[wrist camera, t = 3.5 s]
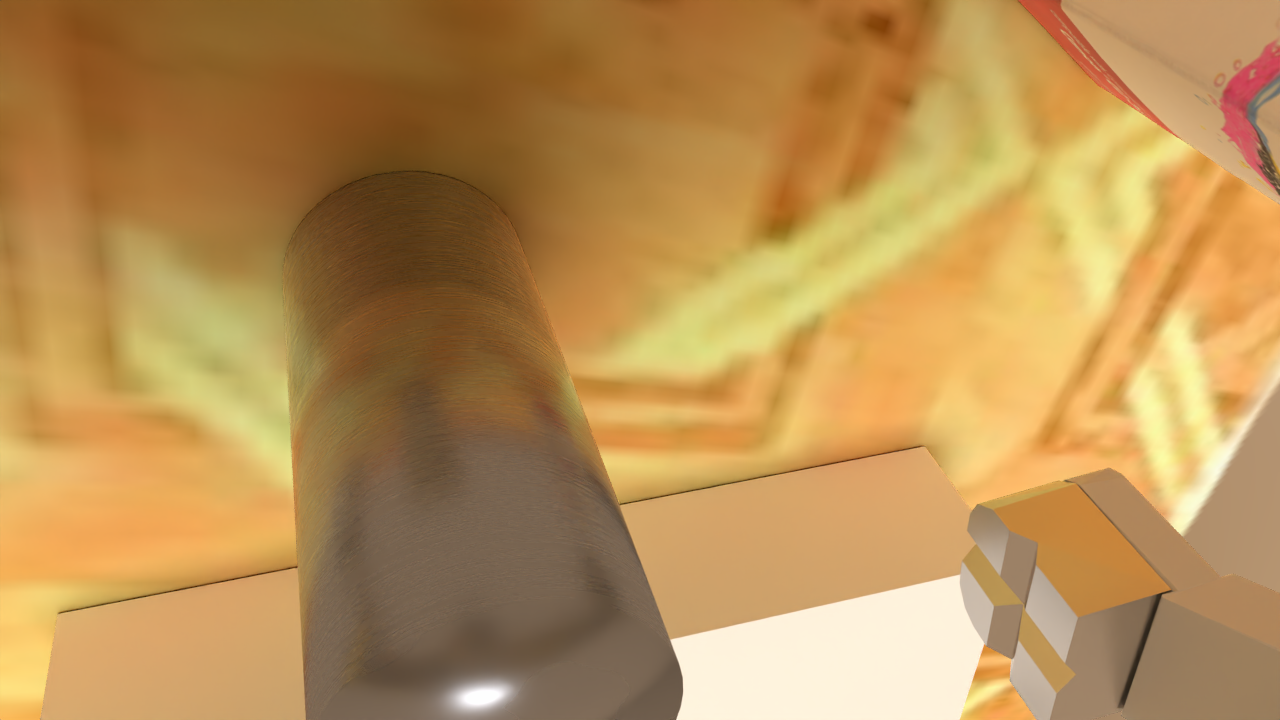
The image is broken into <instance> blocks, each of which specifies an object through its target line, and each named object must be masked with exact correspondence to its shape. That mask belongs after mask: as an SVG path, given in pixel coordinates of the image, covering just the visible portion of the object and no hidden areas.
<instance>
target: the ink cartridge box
mask: <svg viewBox="0 0 1280 720" xmlns="http://www.w3.org/2000/svg"><path fill="white" fill-rule="evenodd" d="M1018 1H1019V2H1020V3H1021V4H1022V5H1023V6H1024V7H1025V8H1026V9H1027V10H1028V11H1029V12H1030V13H1031V14H1032V15H1033V16H1034V17H1035V19H1036V20H1037V21H1038V22H1039V23H1040V24H1041V25H1042V26H1043V27H1044V28H1045V29H1046V30H1047V31H1048V32H1049V33H1050V35H1051V36H1052V37H1053V38H1054V39H1055V40H1056V41H1057V42H1058V43H1059V44H1060V45H1061V46H1062V47H1063V49H1064V50H1065V51H1066V52H1067V53H1068V54H1069V55H1070V56H1071V57H1072V58H1073V59H1074V60H1075V61H1076V62H1077V64H1078V65H1079V66H1080V67H1081V68H1082V69H1083V70H1084V71H1085V72H1086V73H1087V75H1088V76H1089V77H1090V78H1091V79H1092V80H1093V81H1094V82H1095V83H1096V84H1097V85H1098V86H1100V87H1102V88H1103V89H1105V90H1107V91H1108V92H1110V93H1112V94H1113V95H1115V96H1116V97H1118V98H1119V99H1120V100H1122V101H1123V102H1125V103H1126V104H1128V105H1129V106H1131V107H1132V108H1134V109H1136V110H1137V111H1139V112H1140V113H1142V114H1143V115H1145V116H1146V117H1148V118H1149V119H1151V120H1152V121H1154V122H1155V123H1157V124H1158V125H1160V126H1161V127H1162V128H1164V129H1165V130H1167V131H1169V132H1170V133H1172V134H1173V135H1175V136H1176V137H1178V138H1180V139H1181V140H1183V141H1184V142H1186V143H1187V144H1189V145H1190V146H1192V147H1193V148H1195V149H1196V150H1198V151H1199V152H1201V153H1202V154H1204V155H1205V156H1207V157H1208V158H1209V159H1211V160H1212V161H1214V162H1215V163H1217V164H1218V165H1219V166H1221V167H1222V168H1224V169H1225V170H1227V171H1228V172H1230V173H1231V174H1233V175H1235V176H1236V177H1238V178H1240V179H1241V180H1243V181H1245V182H1246V183H1248V184H1249V185H1251V186H1252V187H1254V188H1255V189H1257V190H1258V191H1260V192H1261V193H1263V194H1264V195H1266V196H1268V197H1269V198H1271V199H1272V200H1274V201H1275V202H1277V203H1278V204H1280V0H1018Z"/></svg>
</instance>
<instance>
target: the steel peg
mask: <svg viewBox="0 0 1280 720" xmlns="http://www.w3.org/2000/svg"><path fill="white" fill-rule="evenodd" d="M283 298H284V317H285V336H286V355H287V374H288V393H289V411H290V430H291V449H292V468H293V487H294V506H295V525H296V544H297V563H298V582H299V600H300V619H301V638H302V657H303V676H304V695H305V714H306V720H676V719H677V716H678V713H679V710H680V708H681V703H682V697H683V676H682V673H681V669H680V665H679V662H678V659H677V657H676V654H675V651H674V649H673V646H672V643H671V641H670V638H669V636H668V633H667V630H666V628H665V625H664V622H663V620H662V617H661V614H660V612H659V609H658V606H657V604H656V601H655V598H654V596H653V593H652V590H651V588H650V585H649V583H648V580H647V577H646V575H645V572H644V569H643V567H642V564H641V561H640V559H639V556H638V553H637V551H636V548H635V545H634V543H633V540H632V538H631V535H630V532H629V530H628V527H627V524H626V522H625V519H624V516H623V514H622V511H621V508H620V506H619V503H618V500H617V498H616V495H615V492H614V490H613V487H612V485H611V482H610V479H609V477H608V474H607V471H606V469H605V466H604V463H603V461H602V458H601V455H600V453H599V450H598V447H597V445H596V442H595V439H594V437H593V434H592V432H591V429H590V426H589V424H588V421H587V418H586V416H585V413H584V410H583V408H582V405H581V402H580V400H579V397H578V394H577V392H576V389H575V386H574V384H573V381H572V379H571V376H570V373H569V371H568V368H567V365H566V363H565V360H564V357H563V355H562V352H561V349H560V347H559V344H558V341H557V339H556V336H555V333H554V331H553V328H552V326H551V323H550V320H549V318H548V315H547V312H546V310H545V307H544V304H543V302H542V299H541V296H540V294H539V291H538V288H537V286H536V283H535V280H534V278H533V275H532V273H531V270H530V267H529V265H528V262H527V259H526V257H525V254H524V251H523V249H522V246H521V243H520V241H519V238H518V236H517V234H516V231H515V229H514V227H513V225H512V224H511V222H510V221H509V219H508V218H507V216H506V215H505V213H504V212H503V211H502V210H501V209H500V208H499V207H498V206H497V204H496V203H495V202H493V201H492V200H491V199H490V198H488V197H487V196H486V195H485V194H483V193H482V192H480V191H479V190H477V189H475V188H474V187H472V186H470V185H468V184H466V183H464V182H461V181H459V180H457V179H454V178H450V177H447V176H444V175H440V174H434V173H429V172H418V171H400V172H389V173H384V174H378V175H374V176H370V177H367V178H364V179H360V180H358V181H355V182H353V183H351V184H349V185H346V186H344V187H342V188H341V189H339V190H337V191H336V192H334V193H332V194H330V195H329V196H328V197H326V198H325V199H324V200H323V201H321V202H320V203H319V204H317V205H316V206H315V207H314V208H313V210H312V211H311V212H310V213H309V214H308V215H307V216H306V217H305V218H304V220H303V221H302V222H301V224H300V225H299V226H298V228H297V229H296V231H295V233H294V235H293V237H292V239H291V241H290V243H289V246H288V249H287V252H286V255H285V260H284V265H283Z"/></svg>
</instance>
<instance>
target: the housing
mask: <svg viewBox="0 0 1280 720" xmlns="http://www.w3.org/2000/svg"><path fill="white" fill-rule="evenodd" d="M619 506H620V508H621V511H622V514H623V516H624V519H625V522H626V524H627V527H628V530H629V532H630V535H631V538H632V540H633V543H634V545H635V548H636V551H637V553H638V556H639V559H640V561H641V564H642V567H643V569H644V572H645V575H646V577H647V580H648V583H649V585H650V588H651V590H652V593H653V596H654V598H655V601H656V604H657V606H658V609H659V612H660V614H661V617H662V620H663V622H664V625H665V628H666V630H667V633H668V636H669V638H670V641H671V643H672V646H673V649H674V651H675V654H676V657H677V659H678V662H679V665H680V669H681V673H682V676H683V697H682V703H681V708H680V710H679V713H678V716H677V719H676V720H960V717H961V714H962V711H963V707H964V704H965V701H966V698H967V695H968V692H969V689H970V686H971V683H972V680H973V677H974V673H975V670H976V667H977V664H978V661H979V658H980V655H981V652H982V649H983V646H984V642H983V640H982V639H981V637H980V636H979V634H978V633H977V631H976V630H975V628H974V627H973V624H972V622H971V620H970V618H969V616H968V613H967V611H966V609H965V606H964V602H963V597H962V592H961V588H960V583H959V582H960V573H961V565H962V560H963V559H964V557H965V556H966V555H967V554H968V553H969V551H970V550H971V549H972V548H973V547H974V545H975V544H976V543H975V541H974V540H973V538H972V537H971V536H970V534H969V533H968V531H967V528H968V522H969V517H970V513H971V512H972V510H971V509H970V508H969V506H968V505H967V503H966V502H965V501H964V499H963V498H962V497H961V495H960V494H959V492H958V491H957V490H956V488H955V487H954V486H953V484H952V483H951V481H950V480H949V479H948V477H947V476H946V474H945V473H944V472H943V470H942V469H941V468H940V466H939V465H938V463H937V462H936V461H935V459H934V458H933V457H932V455H931V454H930V452H929V451H928V450H927V448H926V447H925V446H924V447H919V448H913V449H908V450H903V451H898V452H893V453H888V454H882V455H877V456H872V457H867V458H862V459H857V460H851V461H846V462H841V463H836V464H831V465H826V466H820V467H815V468H810V469H805V470H800V471H795V472H789V473H784V474H779V475H774V476H769V477H764V478H758V479H753V480H748V481H743V482H738V483H732V484H727V485H722V486H717V487H712V488H707V489H701V490H696V491H691V492H686V493H681V494H676V495H670V496H665V497H660V498H655V499H650V500H645V501H639V502H634V503H629V504H624V505H619ZM40 720H306V714H305V695H304V676H303V657H302V638H301V619H300V600H299V582H298V568H293V569H288V570H283V571H277V572H272V573H267V574H262V575H257V576H252V577H246V578H241V579H236V580H231V581H226V582H221V583H215V584H210V585H205V586H200V587H195V588H190V589H184V590H179V591H174V592H169V593H164V594H159V595H153V596H148V597H143V598H138V599H133V600H128V601H122V602H117V603H112V604H107V605H102V606H97V607H91V608H86V609H81V610H76V611H71V612H65V613H60V614H58V615H57V621H56V627H55V633H54V639H53V645H52V651H51V657H50V663H49V669H48V675H47V681H46V688H45V694H44V700H43V706H42V712H41V718H40Z"/></svg>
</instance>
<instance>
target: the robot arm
mask: <svg viewBox="0 0 1280 720" xmlns="http://www.w3.org/2000/svg"><path fill="white" fill-rule="evenodd" d="M967 531H968V533H969V534H970V536H971V537H972V538H973V540H974V541H975V543H976V544H975V545H974V547H973V548H972V549H971V550H970V551H969V553H968V554H967V555H966V556H965V557H964V559H963V560H962V565H961V573H960V582H959V583H960V588H961V592H962V597H963V602H964V606H965V609H966V611H967V613H968V616H969V618H970V620H971V622H972V624H973V627H974V628H975V630H976V631H977V633H978V634H979V636H980V637H981V639H982V640H983V642H984V643H985V645H986V646H987V647H989V648H991V649H993V650H995V651H997V652H999V653H1001V654H1003V655H1005V656H1006V657H1008V658H1010V659H1011V671H1010V682H1011V683H1012V685H1013V686H1014V688H1015V689H1016V690H1017V692H1018V693H1019V695H1020V696H1021V698H1022V699H1023V701H1024V702H1025V703H1026V705H1027V706H1028V708H1029V709H1030V711H1031V712H1032V714H1033V715H1034V717H1035V718H1036V719H1037V720H1094V719H1097V718H1100V717H1103V716H1107V715H1110V714H1114V713H1118V712H1121V711H1122V714H1121V716H1122V717H1123V718H1125V719H1127V720H1280V593H1278V592H1276V591H1274V590H1271V589H1269V588H1267V587H1264V586H1262V585H1259V584H1257V583H1255V582H1252V581H1250V580H1248V579H1245V578H1243V577H1241V576H1238V575H1236V574H1230V575H1227V576H1222V577H1220V575H1219V574H1218V573H1217V572H1216V571H1215V570H1214V569H1213V568H1212V567H1211V566H1210V565H1209V564H1208V563H1207V562H1206V561H1205V560H1204V559H1203V558H1202V557H1201V556H1200V555H1199V554H1198V553H1197V552H1196V551H1195V550H1194V548H1193V547H1192V546H1191V545H1189V543H1188V542H1187V541H1186V540H1185V539H1184V538H1183V537H1182V536H1181V535H1180V534H1179V533H1178V532H1177V531H1176V530H1175V529H1174V528H1173V527H1172V526H1171V525H1170V523H1169V522H1168V521H1167V520H1166V519H1165V518H1164V517H1163V516H1162V515H1161V514H1160V513H1159V512H1158V511H1157V510H1156V509H1155V508H1154V507H1153V506H1152V505H1151V504H1150V503H1149V502H1148V501H1147V500H1146V499H1145V498H1144V496H1143V495H1142V494H1141V493H1140V492H1139V491H1138V490H1137V489H1136V488H1135V487H1134V486H1133V485H1132V484H1131V483H1130V482H1129V481H1128V480H1127V479H1126V478H1125V477H1124V476H1123V475H1122V474H1121V473H1119V472H1117V471H1115V470H1113V469H1111V468H1107V469H1103V470H1099V471H1095V472H1092V473H1088V474H1085V475H1081V476H1077V477H1074V478H1070V479H1067V480H1064V481H1055V482H1052V483H1049V484H1045V485H1042V486H1038V487H1035V488H1031V489H1028V490H1025V491H1021V492H1018V493H1014V494H1011V495H1007V496H1004V497H1001V498H997V499H994V500H990V501H987V502H983V503H980V504H977V506H976V507H975V508H974V509H973V511H972V512H971V513H970V517H969V522H968V528H967Z"/></svg>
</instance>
